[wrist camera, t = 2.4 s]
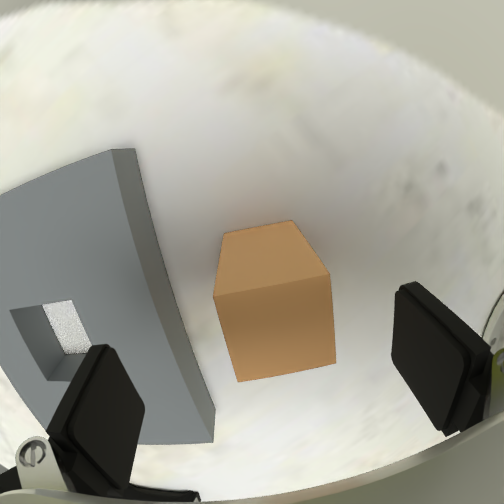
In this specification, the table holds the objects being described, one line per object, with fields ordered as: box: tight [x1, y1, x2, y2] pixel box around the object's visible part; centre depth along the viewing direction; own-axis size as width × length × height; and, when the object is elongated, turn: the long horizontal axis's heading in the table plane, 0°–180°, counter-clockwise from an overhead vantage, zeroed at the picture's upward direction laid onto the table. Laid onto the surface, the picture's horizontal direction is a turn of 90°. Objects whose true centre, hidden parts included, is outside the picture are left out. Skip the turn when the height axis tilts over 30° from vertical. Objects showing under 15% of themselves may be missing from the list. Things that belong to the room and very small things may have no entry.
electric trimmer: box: [106, 484, 201, 502], centre depth 27 cm, size 4×16×3 cm, turn 89°
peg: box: [213, 220, 336, 382], centre depth 15 cm, size 4×4×8 cm
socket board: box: [0, 149, 215, 445], centre depth 18 cm, size 16×20×4 cm
